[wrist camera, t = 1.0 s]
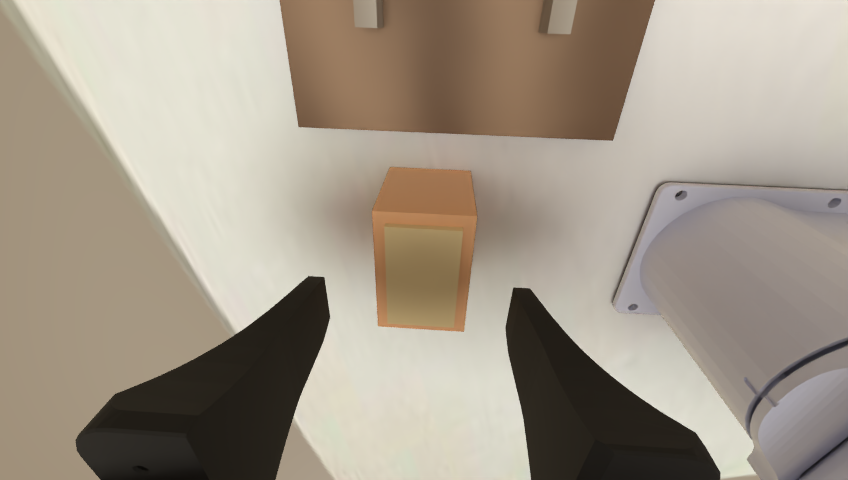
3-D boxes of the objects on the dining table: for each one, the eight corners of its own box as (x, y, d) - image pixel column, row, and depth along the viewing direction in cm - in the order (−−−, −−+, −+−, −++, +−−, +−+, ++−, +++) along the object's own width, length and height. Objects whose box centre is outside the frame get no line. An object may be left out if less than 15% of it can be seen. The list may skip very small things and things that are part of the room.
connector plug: (470, 170, 18) (477, 220, 13) (460, 268, 21) (464, 336, 16) (390, 166, 18) (370, 214, 13) (392, 264, 21) (377, 330, 17)
